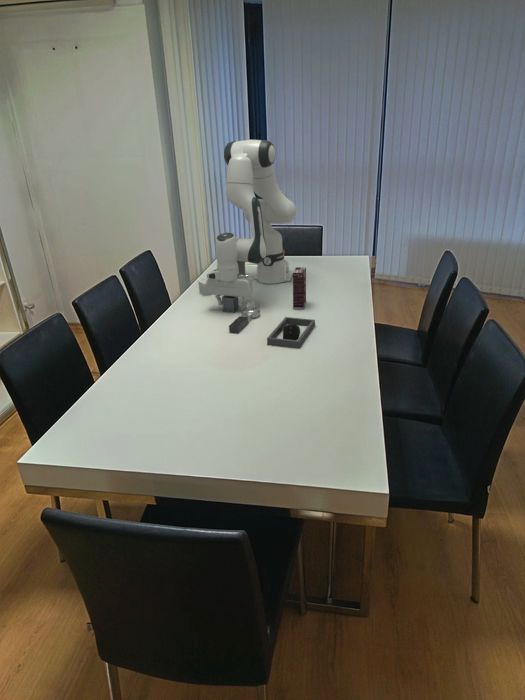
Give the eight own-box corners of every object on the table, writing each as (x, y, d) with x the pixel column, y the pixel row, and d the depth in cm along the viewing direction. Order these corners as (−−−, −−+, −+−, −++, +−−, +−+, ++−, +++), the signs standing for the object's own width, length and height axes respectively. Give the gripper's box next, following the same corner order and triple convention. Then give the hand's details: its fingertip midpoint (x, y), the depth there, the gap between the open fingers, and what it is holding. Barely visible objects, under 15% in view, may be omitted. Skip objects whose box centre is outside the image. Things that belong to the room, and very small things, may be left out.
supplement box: (304, 309, 204) (303, 273, 198) (292, 309, 205) (292, 273, 199) (306, 302, 212) (306, 267, 205) (295, 302, 213) (295, 267, 206)
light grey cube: (216, 293, 229) (215, 281, 226) (205, 296, 226) (203, 284, 223) (210, 290, 233) (209, 278, 231) (199, 293, 231) (198, 281, 228)
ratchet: (246, 312, 205) (246, 298, 202) (262, 313, 203) (261, 300, 200) (225, 332, 187) (224, 317, 184) (242, 334, 185) (241, 319, 182)
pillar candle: (224, 279, 248) (222, 250, 242) (230, 273, 257) (229, 245, 250) (242, 280, 246) (240, 251, 239) (248, 274, 254) (246, 246, 247)
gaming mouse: (280, 345, 174) (280, 335, 173) (284, 329, 188) (283, 319, 186) (298, 346, 174) (298, 335, 172) (300, 329, 187) (300, 319, 185)
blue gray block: (228, 307, 211) (226, 293, 208) (239, 308, 209) (238, 294, 206) (223, 311, 207) (221, 297, 204) (234, 312, 205) (233, 298, 202)
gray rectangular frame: (285, 322, 192) (285, 316, 191) (315, 325, 188) (315, 319, 187) (267, 344, 175) (266, 338, 174) (299, 348, 171) (299, 341, 170)
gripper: (254, 273, 200) (256, 304, 206) (209, 270, 207) (212, 300, 213) (248, 277, 195) (250, 309, 201) (203, 274, 202) (206, 305, 208)
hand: (230, 305), depth 207 cm, fingers open, 8 cm apart
